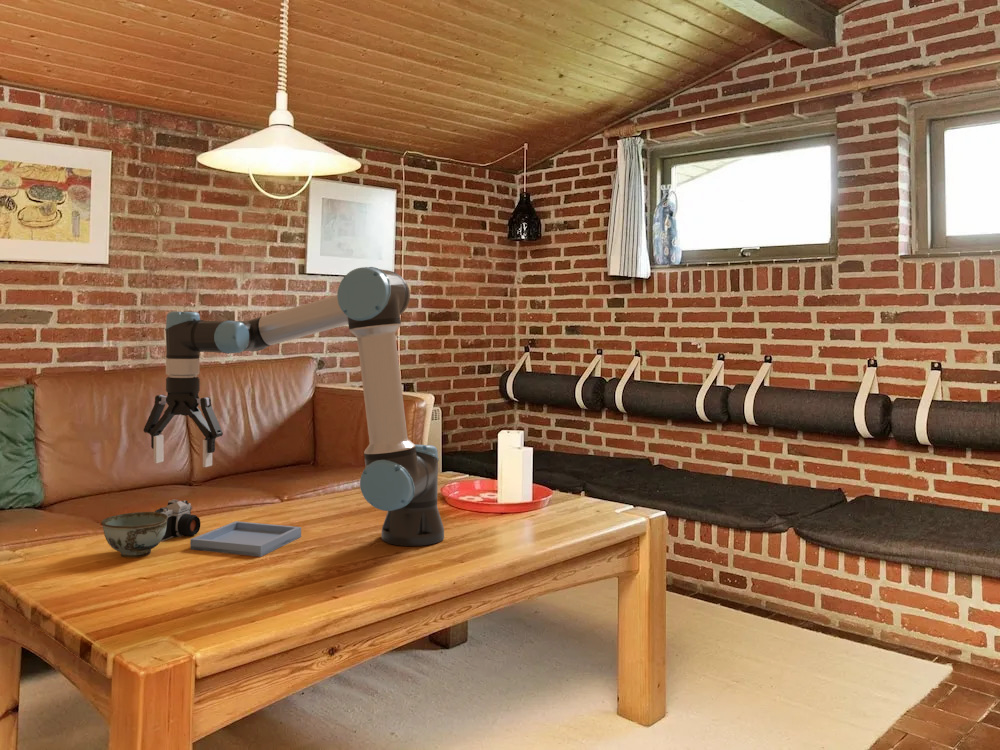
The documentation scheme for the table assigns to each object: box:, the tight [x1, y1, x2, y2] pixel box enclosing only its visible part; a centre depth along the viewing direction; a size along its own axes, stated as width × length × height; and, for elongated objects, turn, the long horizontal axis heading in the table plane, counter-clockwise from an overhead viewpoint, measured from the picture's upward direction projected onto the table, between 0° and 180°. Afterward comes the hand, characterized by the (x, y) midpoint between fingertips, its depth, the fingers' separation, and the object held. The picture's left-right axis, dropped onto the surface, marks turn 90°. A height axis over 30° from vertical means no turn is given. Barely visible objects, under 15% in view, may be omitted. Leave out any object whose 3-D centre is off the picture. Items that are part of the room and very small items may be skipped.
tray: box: [189, 520, 302, 558], centre depth 194 cm, size 18×18×2 cm
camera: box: [154, 499, 201, 543], centre depth 199 cm, size 13×8×9 cm, turn 169°
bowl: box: [100, 511, 168, 559], centre depth 183 cm, size 14×13×8 cm
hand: (182, 464), depth 198 cm, fingers open, 13 cm apart
